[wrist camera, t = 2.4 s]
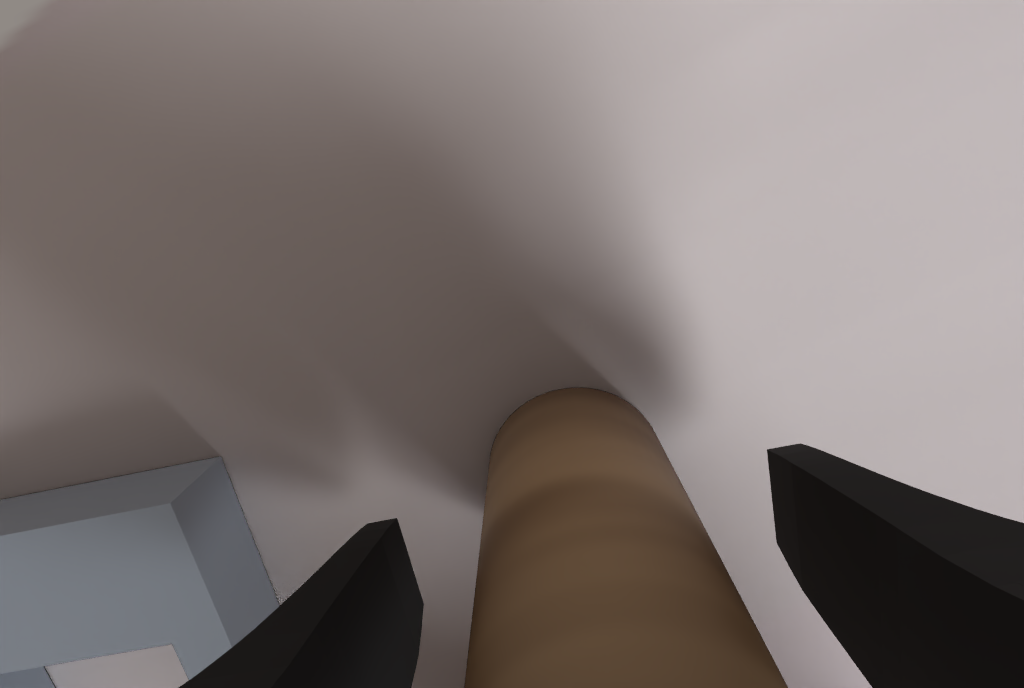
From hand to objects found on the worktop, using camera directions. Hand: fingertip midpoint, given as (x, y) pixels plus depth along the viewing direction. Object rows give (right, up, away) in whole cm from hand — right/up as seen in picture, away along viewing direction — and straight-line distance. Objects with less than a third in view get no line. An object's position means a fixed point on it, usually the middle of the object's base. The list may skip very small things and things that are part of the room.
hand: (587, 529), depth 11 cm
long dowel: (0, +1, +2) cm, 2 cm away
